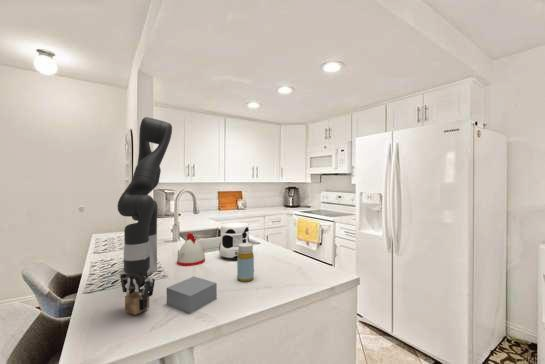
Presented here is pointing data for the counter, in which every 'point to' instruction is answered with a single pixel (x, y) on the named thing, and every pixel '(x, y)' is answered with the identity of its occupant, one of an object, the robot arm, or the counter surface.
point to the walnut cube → (134, 303)
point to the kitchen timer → (190, 252)
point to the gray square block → (191, 294)
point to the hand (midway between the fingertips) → (137, 307)
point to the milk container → (233, 238)
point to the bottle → (245, 262)
